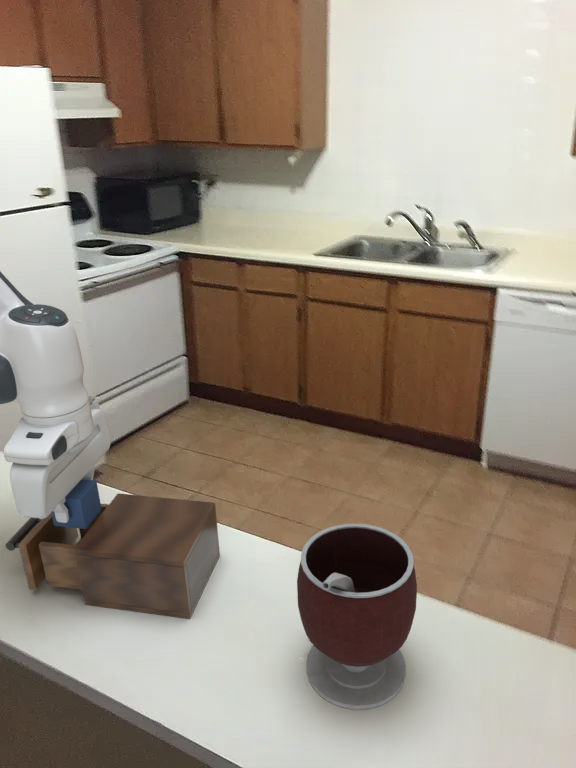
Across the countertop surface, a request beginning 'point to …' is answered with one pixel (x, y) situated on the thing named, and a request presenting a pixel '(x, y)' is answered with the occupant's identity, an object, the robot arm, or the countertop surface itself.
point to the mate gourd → (356, 613)
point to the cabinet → (149, 555)
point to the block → (81, 505)
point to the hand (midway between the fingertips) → (75, 507)
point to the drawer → (49, 552)
